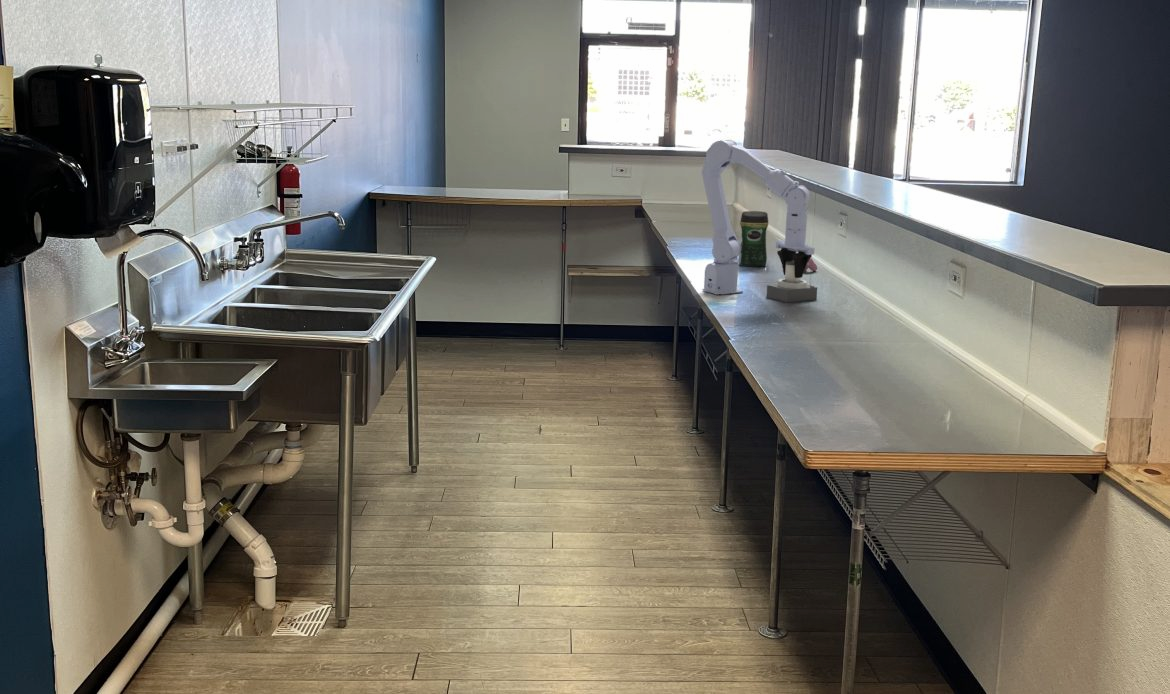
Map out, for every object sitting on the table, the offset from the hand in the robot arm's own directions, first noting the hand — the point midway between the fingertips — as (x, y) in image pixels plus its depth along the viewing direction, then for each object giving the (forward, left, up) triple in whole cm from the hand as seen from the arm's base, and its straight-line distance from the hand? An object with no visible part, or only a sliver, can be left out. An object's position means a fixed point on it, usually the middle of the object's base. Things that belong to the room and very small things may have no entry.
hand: (792, 276), depth 297 cm
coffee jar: (+26, +52, -7) cm, 59 cm away
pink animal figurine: (+35, +37, -7) cm, 51 cm away
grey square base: (0, 0, -6) cm, 6 cm away
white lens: (0, 0, -2) cm, 2 cm away
